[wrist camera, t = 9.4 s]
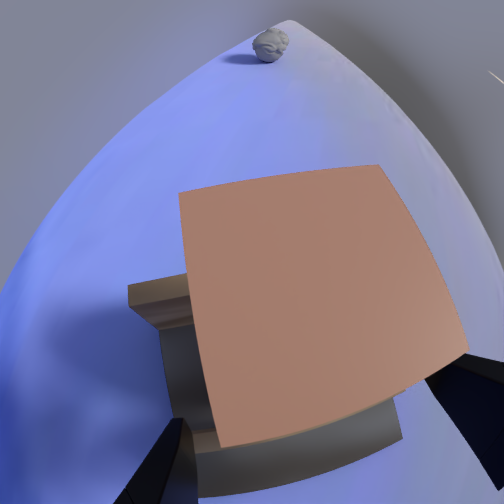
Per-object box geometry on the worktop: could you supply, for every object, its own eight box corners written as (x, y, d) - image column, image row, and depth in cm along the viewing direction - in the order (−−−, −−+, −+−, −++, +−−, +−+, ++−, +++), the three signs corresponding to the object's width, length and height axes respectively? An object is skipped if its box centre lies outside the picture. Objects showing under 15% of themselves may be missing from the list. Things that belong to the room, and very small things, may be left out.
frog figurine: (294, 62, 41) (297, 30, 35) (266, 69, 39) (267, 33, 33) (272, 54, 43) (273, 24, 37) (244, 60, 41) (244, 28, 35)
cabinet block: (322, 386, 15) (469, 349, 4) (244, 406, 15) (220, 447, 3) (298, 303, 18) (364, 145, 7) (224, 320, 17) (176, 168, 6)
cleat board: (396, 437, 14) (445, 444, 8) (199, 493, 12) (177, 529, 7) (345, 276, 20) (374, 233, 15) (161, 317, 18) (127, 285, 13)
